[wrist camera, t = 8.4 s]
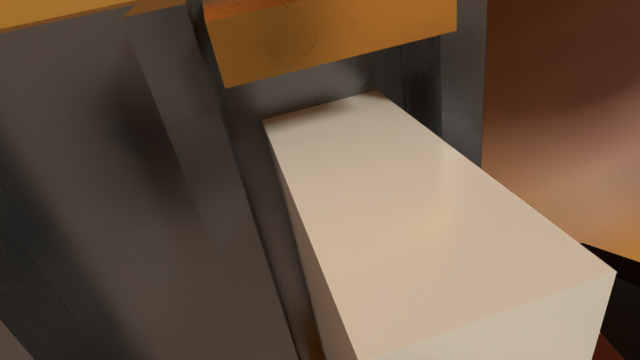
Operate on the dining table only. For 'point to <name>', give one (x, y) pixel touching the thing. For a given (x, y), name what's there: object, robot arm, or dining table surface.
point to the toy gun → (605, 350)
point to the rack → (193, 163)
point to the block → (425, 245)
